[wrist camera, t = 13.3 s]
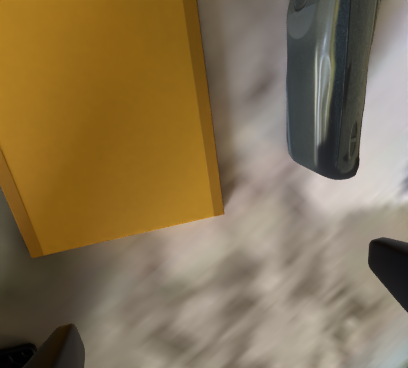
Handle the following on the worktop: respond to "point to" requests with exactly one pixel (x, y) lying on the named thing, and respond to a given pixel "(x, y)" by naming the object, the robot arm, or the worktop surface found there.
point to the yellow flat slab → (104, 120)
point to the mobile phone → (328, 82)
